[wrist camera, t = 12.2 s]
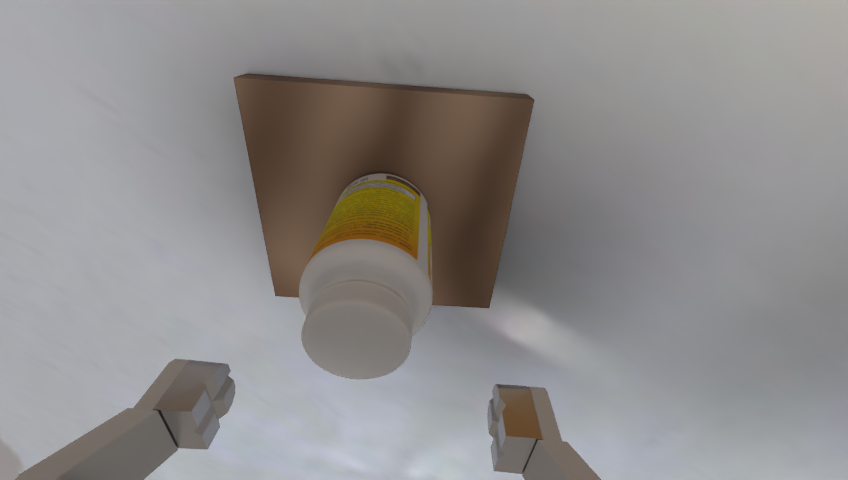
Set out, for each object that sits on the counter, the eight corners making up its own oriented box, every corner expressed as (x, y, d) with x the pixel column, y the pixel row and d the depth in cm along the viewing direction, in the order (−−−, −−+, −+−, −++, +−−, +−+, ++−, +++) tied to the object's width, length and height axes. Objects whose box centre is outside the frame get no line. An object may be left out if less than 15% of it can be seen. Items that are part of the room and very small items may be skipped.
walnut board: (527, 94, 19) (534, 99, 18) (486, 294, 27) (489, 308, 25) (246, 73, 19) (233, 77, 18) (282, 282, 26) (275, 296, 25)
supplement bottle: (319, 192, 21) (243, 314, 12) (406, 154, 20) (390, 259, 11) (366, 264, 24) (330, 407, 15) (445, 234, 22) (456, 371, 14)
